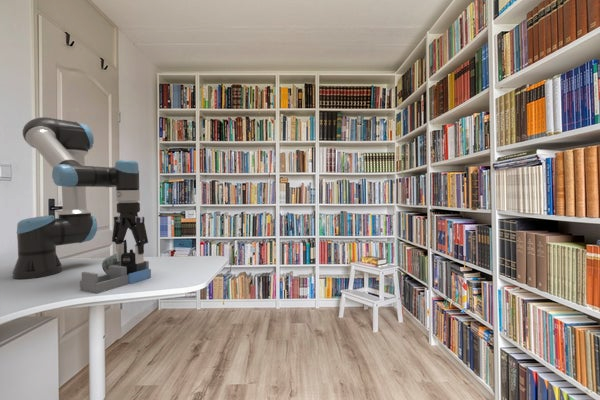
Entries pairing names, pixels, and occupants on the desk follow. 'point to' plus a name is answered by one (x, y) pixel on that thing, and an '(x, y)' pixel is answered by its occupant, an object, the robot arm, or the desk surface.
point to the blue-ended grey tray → (114, 278)
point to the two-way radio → (128, 260)
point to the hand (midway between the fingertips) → (130, 261)
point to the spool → (110, 263)
